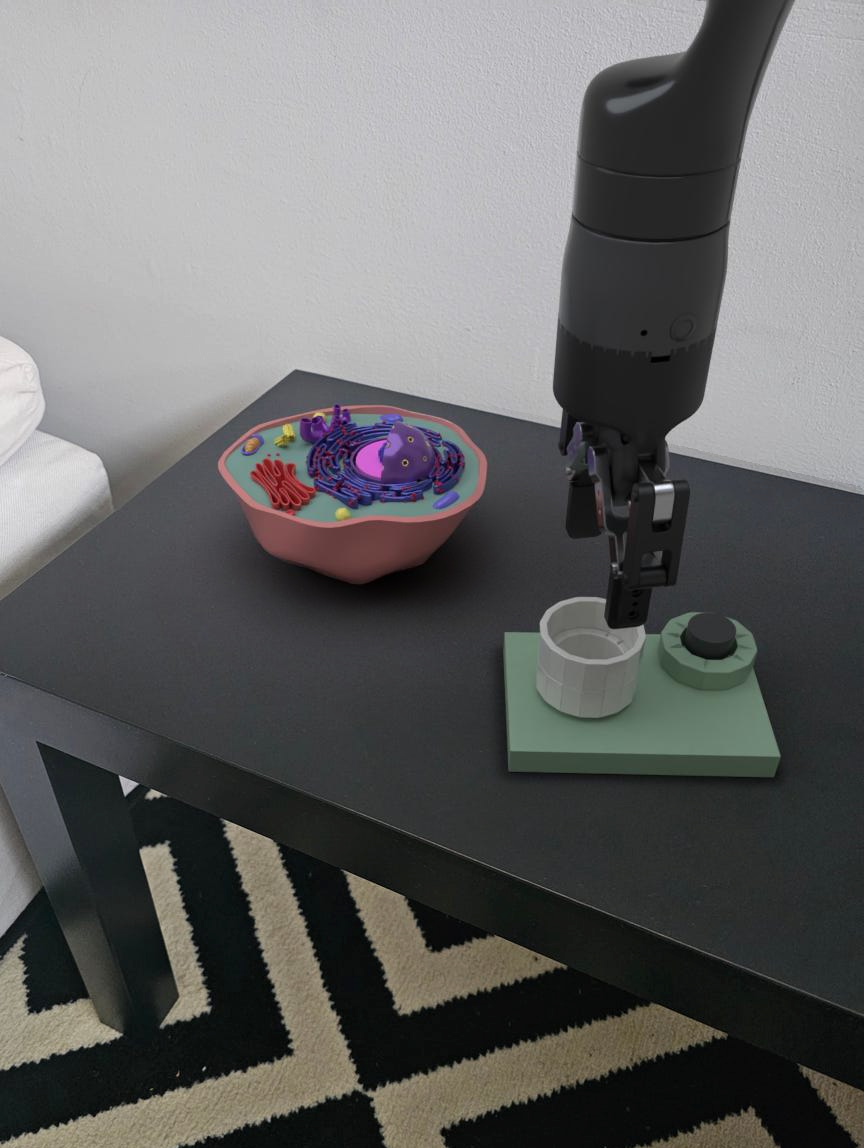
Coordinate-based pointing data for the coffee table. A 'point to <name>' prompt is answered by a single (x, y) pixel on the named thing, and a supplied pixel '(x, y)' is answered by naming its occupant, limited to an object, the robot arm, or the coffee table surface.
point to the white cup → (587, 659)
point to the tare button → (710, 636)
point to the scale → (648, 715)
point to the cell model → (355, 487)
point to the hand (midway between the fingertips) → (603, 577)
